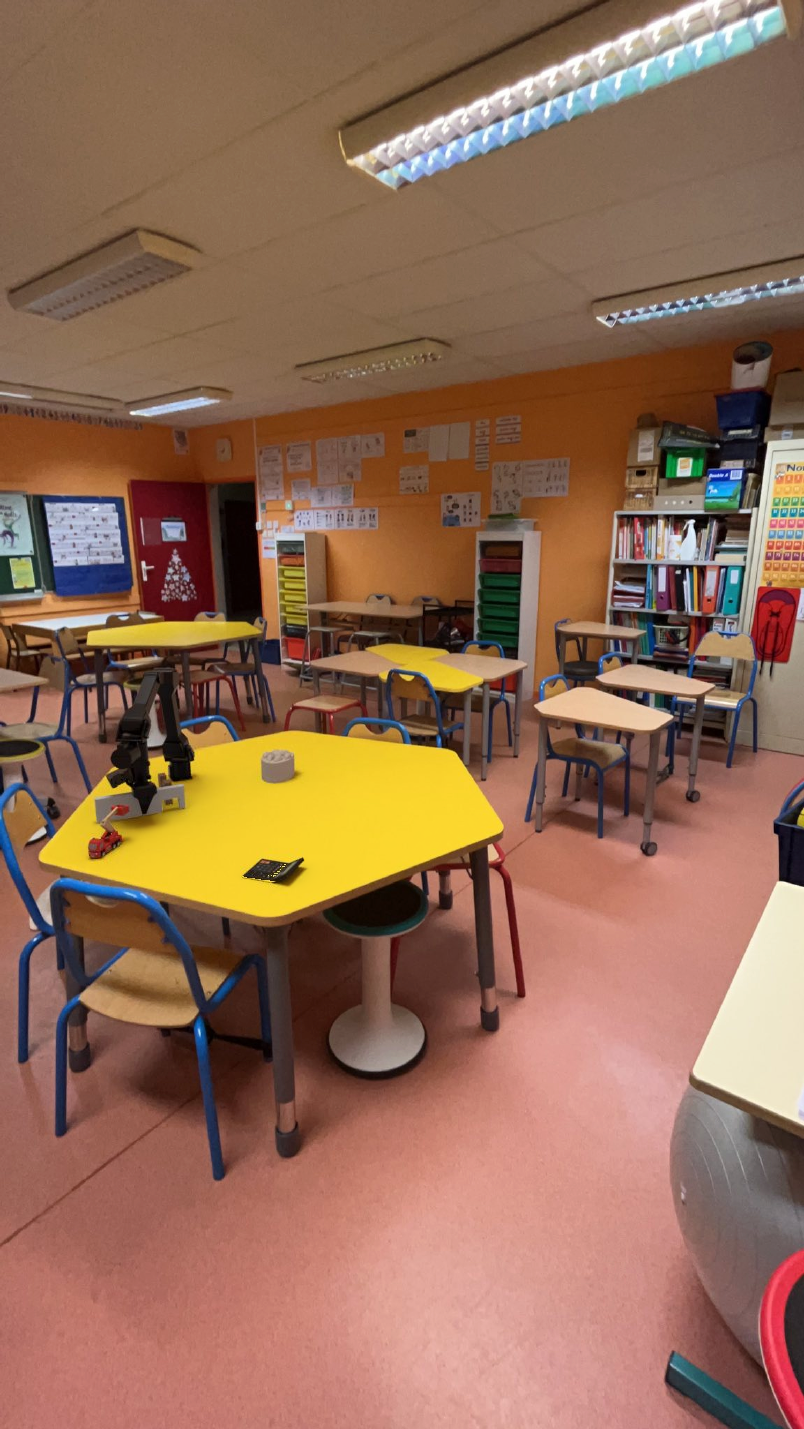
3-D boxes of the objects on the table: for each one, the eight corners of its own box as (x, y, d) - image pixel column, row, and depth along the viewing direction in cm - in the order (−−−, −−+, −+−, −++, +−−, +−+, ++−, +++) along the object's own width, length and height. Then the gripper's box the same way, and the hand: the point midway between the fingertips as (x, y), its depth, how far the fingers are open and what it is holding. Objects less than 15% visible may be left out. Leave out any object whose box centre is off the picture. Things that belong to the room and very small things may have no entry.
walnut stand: (159, 794, 204) (157, 773, 203) (165, 793, 205) (164, 772, 204) (166, 805, 196) (164, 783, 194) (173, 804, 197) (171, 782, 195)
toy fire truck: (87, 858, 161) (83, 822, 159) (120, 836, 174) (117, 802, 172) (99, 860, 161) (95, 823, 158) (132, 837, 174) (129, 803, 171)
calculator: (261, 861, 162) (261, 850, 162) (304, 868, 159) (304, 857, 158) (242, 878, 154) (242, 867, 153) (287, 886, 150) (287, 874, 150)
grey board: (183, 805, 196) (182, 783, 194) (185, 808, 194) (183, 786, 192) (96, 820, 184) (94, 797, 182) (97, 823, 182) (95, 799, 180)
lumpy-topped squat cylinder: (297, 771, 229) (296, 748, 226) (286, 784, 216) (286, 759, 214) (268, 770, 230) (267, 746, 228) (256, 782, 217) (255, 757, 215)
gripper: (102, 753, 188) (107, 803, 192) (111, 771, 173) (116, 826, 177) (143, 748, 194) (146, 797, 198) (155, 765, 179) (159, 818, 182)
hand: (141, 809), depth 188 cm, fingers open, 8 cm apart
